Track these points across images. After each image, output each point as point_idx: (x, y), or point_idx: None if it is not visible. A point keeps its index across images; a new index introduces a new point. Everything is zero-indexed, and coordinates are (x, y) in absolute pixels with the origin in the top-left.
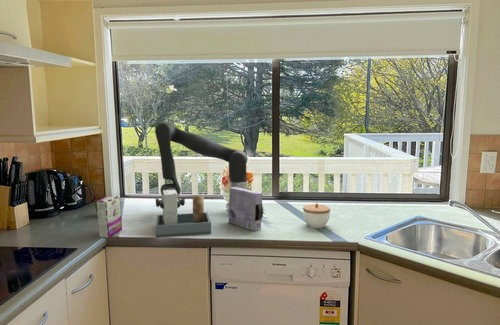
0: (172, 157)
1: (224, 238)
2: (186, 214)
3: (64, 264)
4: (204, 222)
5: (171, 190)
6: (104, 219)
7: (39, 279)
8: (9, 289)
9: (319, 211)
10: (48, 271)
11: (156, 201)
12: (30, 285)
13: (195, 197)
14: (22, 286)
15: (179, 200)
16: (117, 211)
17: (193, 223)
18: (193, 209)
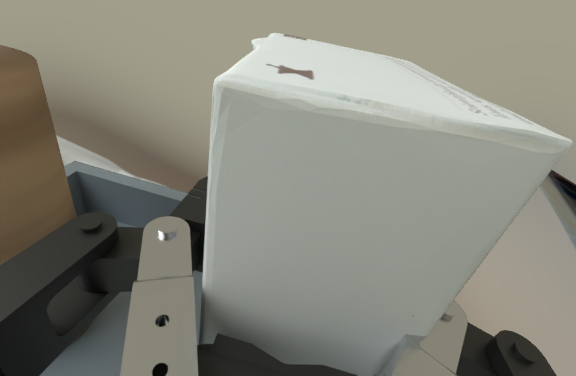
0: None
1: (96, 156)
2: None
3: (565, 223)
4: (103, 175)
5: (331, 71)
6: None
7: (553, 190)
8: (572, 184)
9: None
10: (569, 209)
11: (540, 354)
12: (548, 181)
13: (17, 60)
14: (560, 183)
15: (144, 241)
16: None
17: (169, 191)
18: (67, 203)
